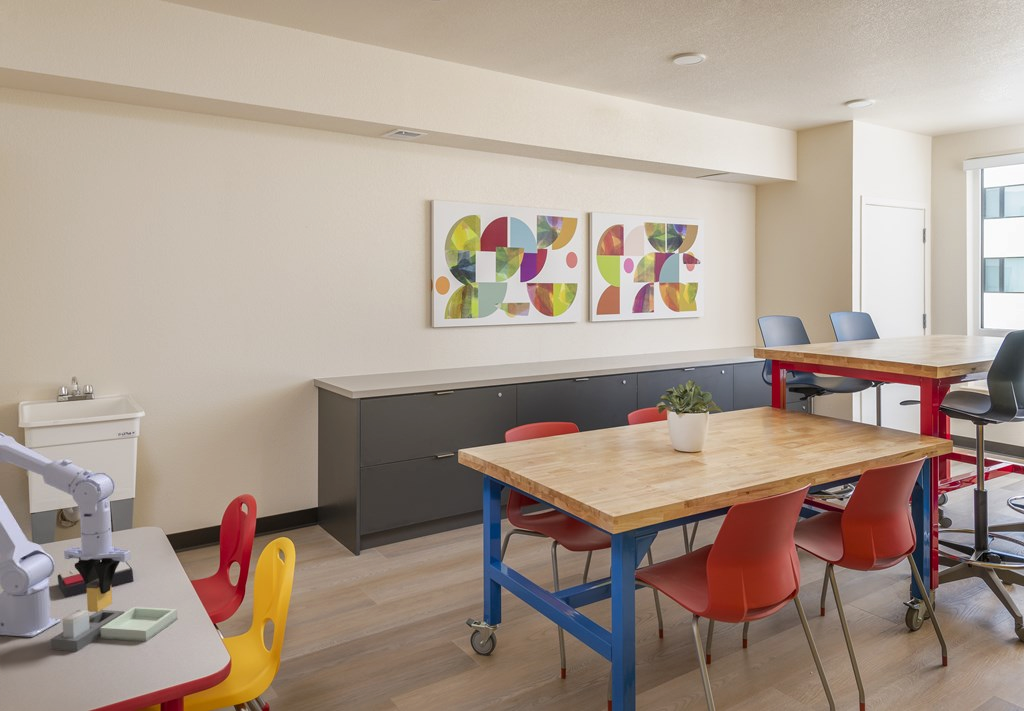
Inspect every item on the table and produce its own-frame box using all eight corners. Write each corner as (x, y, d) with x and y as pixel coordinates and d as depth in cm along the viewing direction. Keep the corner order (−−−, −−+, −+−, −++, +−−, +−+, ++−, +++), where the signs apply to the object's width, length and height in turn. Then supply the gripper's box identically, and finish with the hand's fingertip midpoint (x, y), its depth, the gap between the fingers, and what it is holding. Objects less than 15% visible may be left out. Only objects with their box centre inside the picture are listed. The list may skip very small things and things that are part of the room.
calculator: (56, 571, 179) (122, 554, 189) (58, 588, 179) (124, 570, 189) (63, 584, 171) (132, 566, 180) (65, 601, 171) (134, 582, 181)
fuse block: (51, 649, 145) (50, 639, 145) (100, 619, 159) (100, 609, 159) (77, 651, 144) (76, 640, 144) (124, 620, 158) (124, 611, 158)
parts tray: (100, 638, 150) (100, 627, 150) (134, 616, 160) (134, 606, 160) (146, 641, 148) (145, 630, 148) (177, 619, 159) (177, 609, 158)
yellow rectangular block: (87, 611, 153) (86, 584, 152) (102, 602, 157) (101, 576, 157) (97, 611, 152) (96, 584, 152) (112, 603, 157) (110, 577, 156)
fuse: (64, 647, 146) (62, 619, 146) (80, 637, 150) (78, 609, 150) (74, 647, 146) (72, 619, 145) (90, 637, 150) (88, 610, 150)
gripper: (51, 535, 151) (55, 597, 152) (113, 538, 148) (116, 600, 149) (76, 525, 158) (80, 584, 158) (136, 527, 155) (138, 587, 156)
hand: (99, 591), depth 154 cm, fingers closed on yellow rectangular block, 2 cm apart
